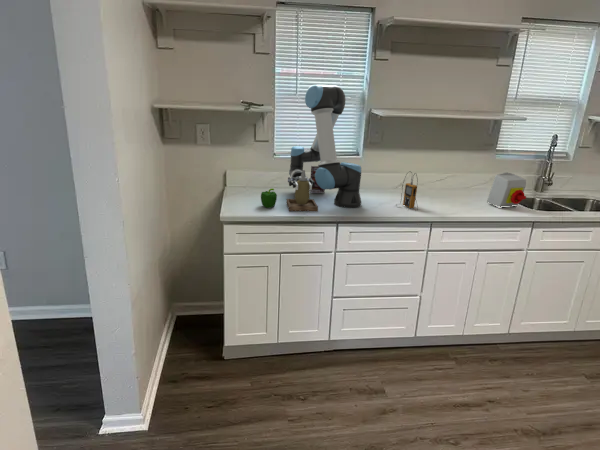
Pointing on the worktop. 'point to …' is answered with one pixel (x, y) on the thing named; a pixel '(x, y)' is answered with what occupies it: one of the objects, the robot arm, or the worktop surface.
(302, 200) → the squeeze bottle
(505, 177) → the electrical switch box
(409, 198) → the multimeter
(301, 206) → the walnut tray
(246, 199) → the worktop surface
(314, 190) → the supplement box
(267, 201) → the bell pepper
